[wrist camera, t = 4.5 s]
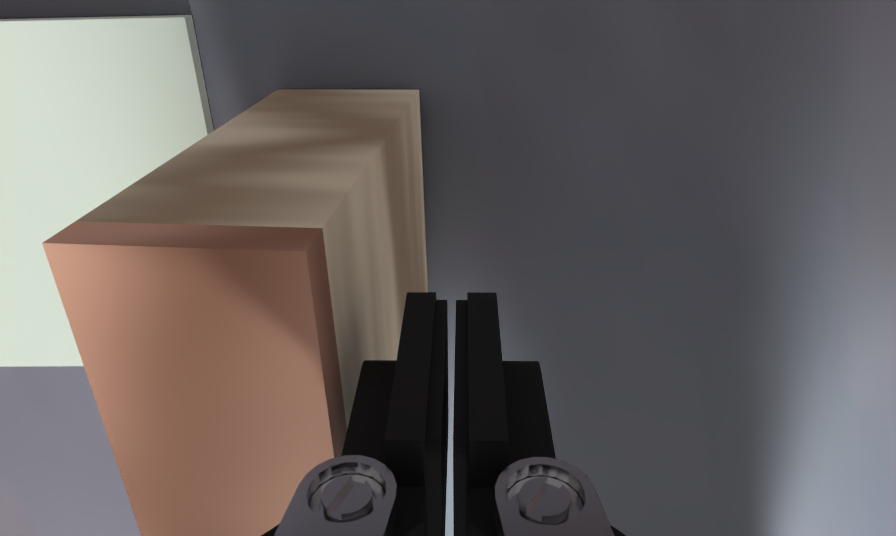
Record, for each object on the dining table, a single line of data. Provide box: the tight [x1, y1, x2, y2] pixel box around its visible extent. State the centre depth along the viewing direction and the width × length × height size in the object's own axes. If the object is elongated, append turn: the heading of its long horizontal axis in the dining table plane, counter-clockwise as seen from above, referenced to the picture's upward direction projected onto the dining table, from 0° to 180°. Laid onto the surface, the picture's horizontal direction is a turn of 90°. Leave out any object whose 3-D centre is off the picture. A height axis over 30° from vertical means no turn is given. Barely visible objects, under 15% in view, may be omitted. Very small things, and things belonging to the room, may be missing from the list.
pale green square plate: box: [0, 15, 214, 366], centre depth 20 cm, size 11×11×1 cm
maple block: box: [42, 89, 428, 536], centre depth 15 cm, size 4×7×10 cm, turn 1°
